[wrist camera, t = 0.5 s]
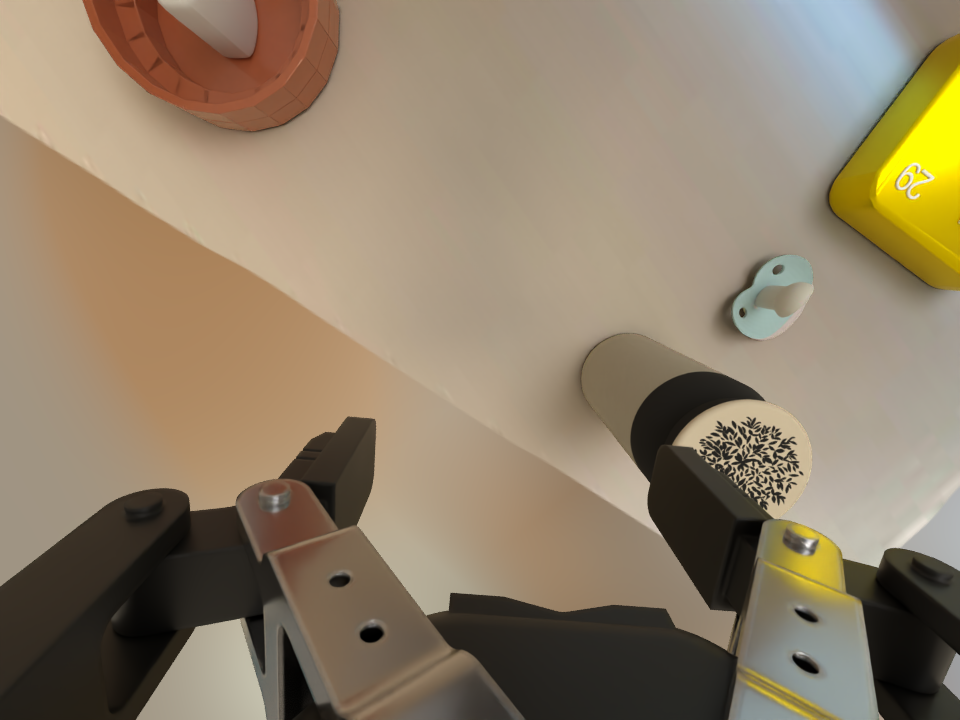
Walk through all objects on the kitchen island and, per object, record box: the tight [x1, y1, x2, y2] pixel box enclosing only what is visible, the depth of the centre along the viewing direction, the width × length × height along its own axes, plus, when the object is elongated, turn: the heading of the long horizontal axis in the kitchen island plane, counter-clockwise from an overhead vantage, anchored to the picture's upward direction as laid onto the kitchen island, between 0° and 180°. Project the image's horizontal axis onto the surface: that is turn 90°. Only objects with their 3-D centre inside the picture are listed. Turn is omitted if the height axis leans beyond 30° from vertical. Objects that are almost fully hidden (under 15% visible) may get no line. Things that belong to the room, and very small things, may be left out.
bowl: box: [83, 0, 339, 131], centre depth 31 cm, size 15×15×5 cm
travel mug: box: [581, 333, 812, 519], centre depth 31 cm, size 8×8×18 cm
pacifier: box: [731, 255, 814, 341], centre depth 36 cm, size 7×6×6 cm
